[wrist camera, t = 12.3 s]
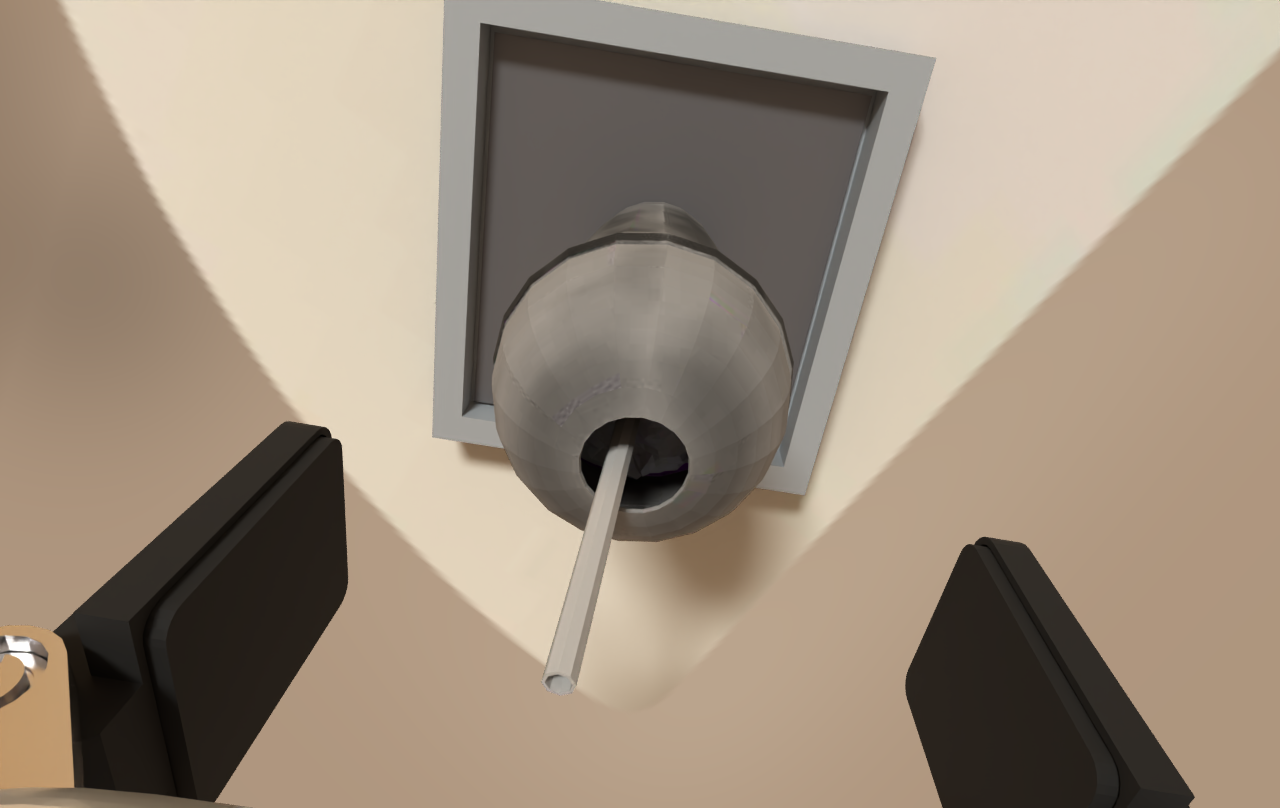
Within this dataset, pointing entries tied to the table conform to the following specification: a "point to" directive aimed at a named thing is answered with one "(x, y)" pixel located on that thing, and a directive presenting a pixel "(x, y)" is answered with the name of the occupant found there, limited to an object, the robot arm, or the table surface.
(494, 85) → the tray
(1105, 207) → the table surface
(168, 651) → the robot arm
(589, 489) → the beverage cup
